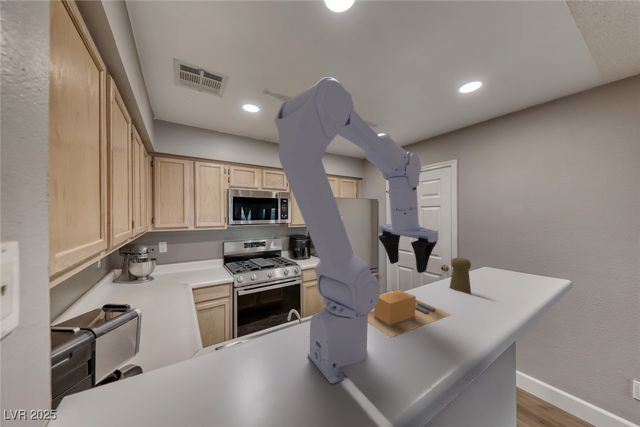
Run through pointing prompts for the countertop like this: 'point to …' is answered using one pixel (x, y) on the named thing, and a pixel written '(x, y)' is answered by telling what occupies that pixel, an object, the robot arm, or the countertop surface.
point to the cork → (460, 275)
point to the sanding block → (395, 308)
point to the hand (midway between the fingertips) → (407, 266)
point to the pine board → (409, 325)
